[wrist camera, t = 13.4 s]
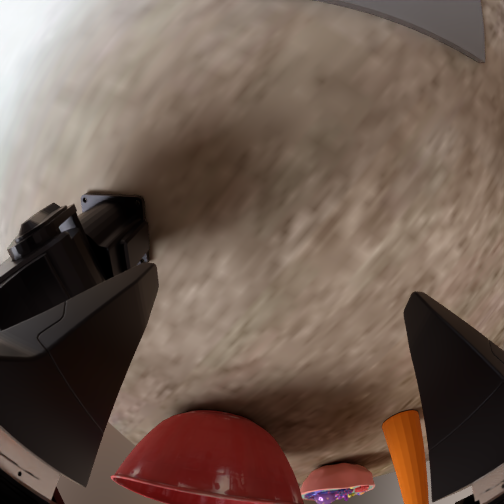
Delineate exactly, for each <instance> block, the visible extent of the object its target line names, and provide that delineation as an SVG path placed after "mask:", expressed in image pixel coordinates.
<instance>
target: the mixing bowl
mask: <svg viewBox="0 0 504 504" xmlns="http://www.w3.org/2000/svg"><path fill="white" fill-rule="evenodd" d="M111 478H112V480H113V481H115V482H116V483H118V484H119V485H121V486H123V487H125V488H127V489H129V490H131V491H133V492H135V493H138V494H140V495H143V496H145V497H148V498H151V499H154V500H157V501H160V502H163V503H166V504H304V502H303V499H302V495H301V492H300V489H299V486H298V483H297V480H296V477H295V475H294V473H293V470H292V468H291V466H290V464H289V462H288V460H287V458H286V456H285V454H284V453H283V451H282V449H281V448H280V446H279V444H278V443H277V441H276V440H275V439H274V438H273V437H272V436H271V435H270V434H269V433H268V432H267V431H266V430H265V429H263V428H262V427H260V426H258V425H257V424H255V423H254V422H252V421H250V420H248V419H246V418H244V417H241V416H238V415H234V414H231V413H226V412H220V411H211V410H197V411H190V412H187V413H182V414H177V415H174V416H172V417H170V418H168V419H166V420H164V421H162V422H161V423H160V424H158V425H157V426H156V427H155V428H154V429H152V430H151V431H150V432H149V433H148V434H147V435H146V436H145V437H144V438H143V439H142V440H141V441H140V442H139V443H138V444H137V445H136V447H135V448H134V449H133V450H132V451H131V453H130V454H129V455H128V457H127V458H126V459H125V461H124V462H123V463H122V464H121V466H120V467H119V469H118V470H117V472H116V473H115V475H112V476H111Z"/></svg>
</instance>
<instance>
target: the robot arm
mask: <svg viewBox="0 0 504 504" xmlns="http://www.w3.org/2000/svg"><path fill="white" fill-rule="evenodd" d="M85 198H86V199H87V201H86V199H85ZM136 200H138V201H139V202H140V204H137V202H136ZM81 205H82V212H83V213H82V214H80V215H79V216H77V213H76V211H77V210H76V207H75V205H74V204H73V205H70V206H68V207H67V206H63V207H60V206H58V205H57V204H55V203H52V204H50V205H49V206H47V207H45V208H44V209H42V210H40V211H39V212H37V213H36V214H34V215H33V216H31V217H30V218H29V219H28V220H26V221H25V222H24V223H23V224H21V228H20V232H19V235H18V236H17V237H16V238H15V239H14V241H13V242H12V243H11V244H10V246H9V247H8V248H7V250H8V252H9V255H10V257H9V258H8V259H7V260H6V261H4V262H3V263H2V264H1V265H0V504H64V502H63V500H62V498H61V495H60V493H59V491H58V489H57V487H56V485H57V482H58V479H59V476H60V475H61V476H63V477H65V478H67V479H69V480H71V481H73V482H75V483H77V484H79V485H81V486H83V487H86V486H87V483H88V480H89V477H90V474H91V470H92V467H93V464H94V461H95V458H96V455H97V452H98V449H99V445H100V442H101V440H102V437H103V433H104V430H105V428H106V425H107V422H108V420H109V417H110V414H111V411H112V409H113V406H114V403H115V401H116V398H117V396H118V393H119V390H120V388H121V385H122V383H123V380H124V378H125V375H126V373H127V371H128V368H129V366H130V363H131V361H132V359H133V356H134V354H135V351H136V349H137V347H138V345H139V342H140V340H141V338H142V335H143V333H144V331H145V328H146V326H147V323H148V320H149V317H150V313H151V310H152V307H153V304H154V301H155V298H156V295H157V292H158V287H159V283H158V274H157V267H156V265H155V264H154V263H148V262H149V255H148V250H149V249H150V246H149V234H148V223H147V221H146V220H145V205H144V199H143V198H142V197H141V196H135V195H115V194H88V193H87V194H84V195H83V196H82V197H81ZM142 259H144V260H145V262H144V261H142ZM404 320H405V325H406V331H407V337H408V343H409V348H410V353H411V357H412V361H413V365H414V370H415V374H416V378H417V383H418V388H419V393H420V398H421V403H422V408H423V414H424V420H425V427H426V434H427V441H428V450H429V461H430V473H431V489H432V490H431V491H432V502H435V501H438V500H440V499H442V498H445V497H447V496H449V495H452V494H454V493H457V492H459V491H461V490H463V489H465V488H467V487H469V486H472V489H473V494H472V495H470V496H468V497H466V498H464V499H462V500H460V501H458V502H456V503H455V504H504V351H503V350H502V349H501V348H499V347H498V346H497V345H495V344H494V343H493V342H491V341H490V340H488V338H486V337H485V336H484V335H482V334H481V333H480V332H478V331H477V330H476V329H474V328H473V327H472V326H470V325H469V324H468V323H466V322H465V321H463V320H462V319H461V318H459V317H458V316H457V315H455V314H454V313H452V312H451V311H450V310H448V309H447V308H445V307H444V306H443V305H441V304H440V303H438V302H437V301H435V300H434V299H432V298H431V297H430V296H428V295H427V294H425V293H424V292H413V293H412V294H411V296H410V298H409V301H408V303H407V305H406V307H405V309H404Z"/></svg>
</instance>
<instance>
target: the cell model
mask: <svg viewBox="0 0 504 504" xmlns="http://www.w3.org/2000/svg"><path fill="white" fill-rule="evenodd" d="M374 487H375V484H374V481H373V477H372V473H371V472H370V471H369V470H368V469H366V468H365V467H364V466H362V465H358V464H350V463H338V464H334V465H325V466H322V467H320V468H318V469H315V470H314V471H312V472H311V473H310V474H309V476H308V477H307V478H306V479H305V480H304V482H303V484H302V486H301V489H300V492H301V495H302V499H303V500H315V501H316V503H318V504H331V502H333V501H334V500H335V499H342V498H343V497H344V498H345V499H344V500H345V501H348V497H350V496H354V495H356V494H358V495H361V494H363V493H364V492H366V491H369V490H371V489H373V488H374Z"/></svg>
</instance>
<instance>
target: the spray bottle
mask: <svg viewBox="0 0 504 504" xmlns="http://www.w3.org/2000/svg"><path fill="white" fill-rule="evenodd" d="M382 429H383V432H384V435H385V438H386V441H387V445H388V448H389V451H390V454H391V458H392V461H393V464H394V468H395V471H396V474H397V478H398V482H399V486H400V489H401V493H402V497H403V500H404V504H429V501H428V483H427V471H426V461H425V452H424V444H423V437H422V431H421V424H420V419H419V413H418V412H417V411H415V410H408V411H404V412H400V413H398V414H396V415H393V416H392V417H390V418H388V419H387V420H386V421H385V422H384V423H383V425H382Z"/></svg>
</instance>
